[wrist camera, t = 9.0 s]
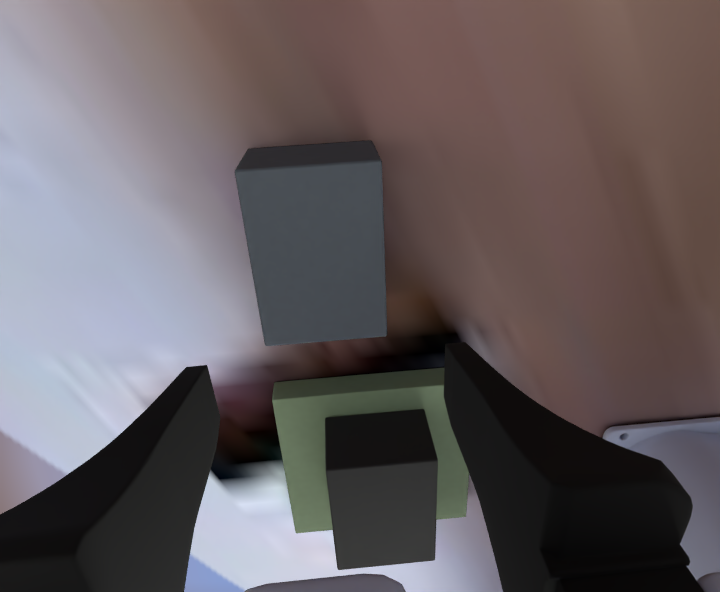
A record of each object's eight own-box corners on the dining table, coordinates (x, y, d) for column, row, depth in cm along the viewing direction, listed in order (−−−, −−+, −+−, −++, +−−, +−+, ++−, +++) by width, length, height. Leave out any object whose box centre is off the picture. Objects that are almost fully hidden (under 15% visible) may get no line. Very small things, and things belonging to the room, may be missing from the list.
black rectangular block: (424, 407, 25) (438, 459, 22) (423, 504, 28) (435, 561, 25) (324, 416, 25) (325, 470, 22) (335, 513, 28) (337, 570, 25)
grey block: (372, 139, 20) (381, 159, 17) (378, 297, 23) (387, 337, 20) (247, 148, 20) (233, 170, 17) (272, 305, 23) (264, 347, 20)
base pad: (468, 365, 25) (476, 382, 24) (460, 497, 30) (466, 517, 29) (274, 381, 25) (271, 399, 24) (296, 512, 30) (295, 533, 29)
